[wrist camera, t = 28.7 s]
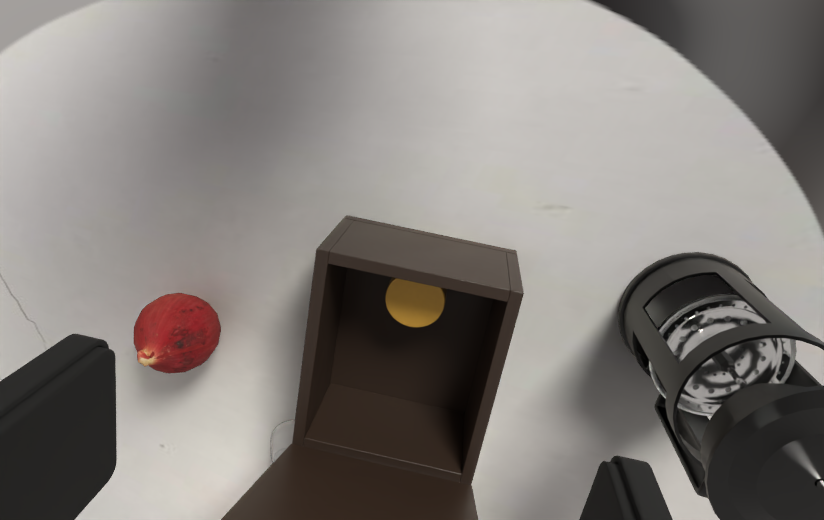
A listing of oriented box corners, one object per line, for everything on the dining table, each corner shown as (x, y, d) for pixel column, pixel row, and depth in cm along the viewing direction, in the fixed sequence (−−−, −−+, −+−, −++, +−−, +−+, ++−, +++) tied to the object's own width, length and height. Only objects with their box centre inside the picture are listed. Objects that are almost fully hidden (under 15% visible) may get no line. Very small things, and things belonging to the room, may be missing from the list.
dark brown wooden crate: (346, 214, 41) (316, 248, 34) (516, 250, 40) (523, 293, 33) (322, 383, 46) (291, 444, 39) (472, 417, 45) (471, 486, 38)
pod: (404, 244, 40) (396, 263, 37) (456, 264, 40) (454, 286, 37) (386, 292, 42) (377, 315, 38) (436, 311, 42) (432, 336, 38)
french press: (648, 228, 39) (855, 443, 17) (784, 261, 38) (1170, 522, 17) (592, 372, 43) (703, 689, 21) (715, 402, 42) (953, 756, 21)
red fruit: (224, 273, 44) (171, 318, 36) (244, 339, 46) (198, 394, 38) (157, 282, 45) (92, 328, 37) (179, 346, 46) (121, 402, 39)
